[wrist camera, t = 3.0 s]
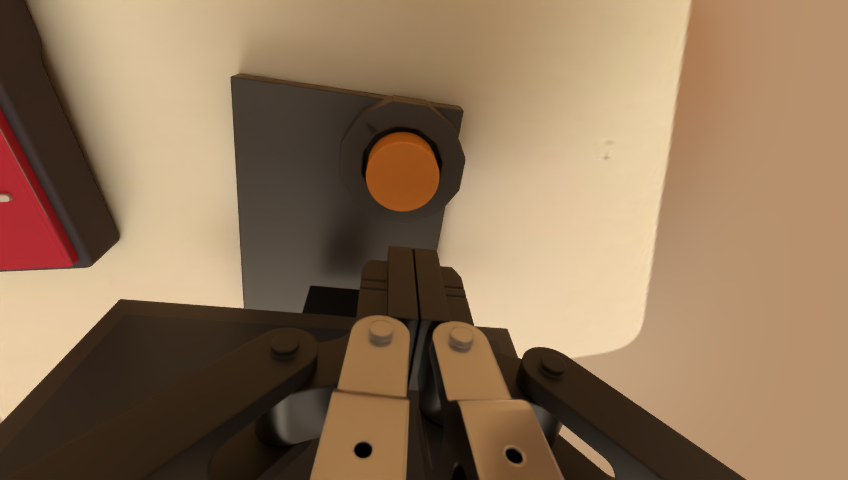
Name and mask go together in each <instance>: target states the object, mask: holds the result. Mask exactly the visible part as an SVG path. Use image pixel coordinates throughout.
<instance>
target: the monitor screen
mask: <svg viewBox="0 0 848 480" xmlns="http://www.w3.org/2000/svg"><path fill="white" fill-rule="evenodd" d="M355 322H356V317H346V316H333V315H320V314H307V313H294V312H281V311H268V310H255V309H242V308H229V307H216V306H203V305H190V304H177V303H164V302H151V301H138V300H125V299H120V300H119V301H118V302H117V303H116V304H115V305H114V306H113V307H112V308H111V309H110V310H109V311H108V312H107V313H106V314H105V316H104V317H103V318H102V319H101V320H100V321H99V322H98V323H97V324H96V325H95V326H94V327H93V328H92V329H91V330H90V331H89V332H88V333H87V334H86V335H85V336H84V337H83V338H82V339H81V340H80V342H79V343H78V344H77V345H76V346H75V347H74V348H73V349H72V350H71V351H70V352H69V353H68V354H67V355H66V356H65V357H64V358H63V359H62V360H61V361H60V362H59V363H58V364H57V365H56V366H55V368H54V369H53V370H52V371H51V372H50V373H49V374H48V375H47V376H46V377H45V378H44V379H43V380H42V381H41V382H40V383H39V384H38V385H37V386H36V387H35V388H34V389H33V390H32V391H31V392H30V394H29V395H28V396H27V397H26V398H25V399H24V400H23V401H22V402H21V403H20V404H19V405H18V406H17V407H16V408H15V409H14V410H13V411H12V412H11V413H10V414H9V415H8V416H7V417H6V419H5V420H4V421H3V422H2V423H1V424H0V480H1V479H3V478H5V477H6V476H8V475H10V474H12V473H14V472H15V471H17V470H19V469H21V468H23V467H24V466H26V465H28V464H30V463H32V462H33V461H35V460H37V459H39V458H41V457H42V456H44V455H46V454H48V453H50V452H51V451H53V450H55V449H57V448H59V447H60V446H62V445H64V444H66V443H68V442H69V441H71V440H73V439H75V438H77V437H78V436H80V435H82V434H84V433H86V432H87V431H89V430H91V429H93V428H95V427H96V426H98V425H100V424H102V423H104V422H105V421H107V420H109V419H111V418H113V417H114V416H116V415H118V414H120V413H122V412H123V411H125V410H127V409H129V408H131V407H132V406H134V405H136V404H138V403H140V402H141V401H143V400H145V399H147V398H149V397H150V396H152V395H154V394H156V393H158V392H159V391H161V390H163V389H165V388H167V387H168V386H170V385H172V384H174V383H176V382H177V381H179V380H181V379H183V378H185V377H186V376H188V375H190V374H192V373H194V372H195V371H197V370H199V369H201V368H203V367H204V366H206V365H208V364H210V363H212V362H213V361H215V360H217V359H219V358H221V357H222V356H224V355H226V354H228V353H230V352H231V351H233V350H235V349H237V348H239V347H240V346H242V345H244V344H246V343H248V342H249V341H251V340H253V339H255V338H257V337H258V336H260V335H262V334H264V333H266V332H268V331H270V330H273V329H277V328H284V327H292V328H298V329H302V330H305V331H307V332H309V333H310V334H311V335H313V336H314V338H315V339H316V341H317V343H319V342H325V341H330V340H335V339H338V338H340V337H342V336H344V335H346V334H347V333H348V332H350V331H351V330H352V327H353V326H354V324H355ZM474 327H476V328H478V329H479V330H480V331H481V332H482V333H484V335H485V336H486V337H487V339H488V342H489V344H490V346H491V348H492V349H494V350H496V351H498V352H501V353H504V354H507V355H510V356H513V357H517V358H518V356H517V353H516V351H515V348H514V345H513V343H512V340H511V337H510V335H509V332H508V329H503V328H490V327H477V326H474ZM407 397H409V425H408V448H407V470H406V480H425V474H424V467H423V461H422V454H421V447H420V441H419V434H418V427H417V421H416V412H417V407H418V402H419V392H418V391H417V390H408V381H407ZM319 441H320V438H316V439H312V442H311V444H310V445H309V447H308V448H307V449H306V450H305V451H304V452H303V453H302V454H301V455H300V456H299V457H298V458H296V459H295V460H294V461H293V462H292V463H291V464H290V465H289V466H288V467H286V468H285V469H284V470H283V471H282V472H281V473H280V474H279V475H277V476H276V477H275V478H274V479H273V480H310V476H311V472H312V468H313V465H314V461H315V457H316V453H317V449H318V445H319Z"/></svg>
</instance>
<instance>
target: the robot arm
mask: <svg viewBox="0 0 848 480" xmlns="http://www.w3.org/2000/svg"><path fill="white" fill-rule="evenodd" d="M407 381H408V390H417V391H418V392H419V402H418V407H417V412H416V421H417V427H418V434H419V441H420V447H421V454H422V461H423V467H424V474H425V480H746V479H745V478H743V477H742V476H740V475H739V474H737V473H736V472H734V471H733V470H732V469H730V468H729V467H727V466H726V465H724V464H723V463H721V462H720V461H718V460H717V459H715V458H714V457H712V456H711V455H710V454H708V453H707V452H705V451H704V450H702V449H701V448H700V447H698V446H696V445H695V444H694V443H692V442H691V441H689V440H688V439H686V438H685V437H684V436H682V435H681V434H679V433H678V432H676V431H675V430H673V429H672V428H670V427H669V426H667V425H666V424H665V423H663V422H662V421H660V420H659V419H657V418H656V417H655V416H653V415H652V414H650V413H649V412H647V411H646V410H644V409H643V408H641V407H640V406H638V405H637V404H635V403H634V402H633V401H631V400H630V399H628V398H627V397H625V396H624V395H623V394H621V393H620V392H618V391H617V390H615V389H614V388H612V387H611V386H609V385H608V384H607V383H605V382H604V381H602V380H601V379H599V378H598V377H596V376H595V375H593V374H592V373H591V372H589V371H588V370H586V369H585V368H583V367H582V366H580V365H579V364H577V363H576V362H574V361H573V360H572V359H570V358H569V357H567V356H566V355H564V354H562V353H560V352H558V351H556V350H553V349H550V348H545V347H535V348H531V349H529V350H527V351H526V352H525V353H524V355H523V358H522V359H520V358H517V357H513V356H510V355H507V354H504V353H501V352H498V351H496V350H494V349H492V348H491V346H490V344H489V342H488V339H487V337H486V336H485V335H484V333H482V332H481V331H480V330H479V329H478V328H476V327H474V323H473V320H472V316H471V312H470V309H469V305H468V301H467V298H466V294H465V290H464V287H463V283H462V279H461V277H460V276H459V275H458V274H457V272H456V271H455V270H454V269H453V268H452V267H442V266H440V263H439V258H438V253H437V250H429V249H419V248H413V250H412V248H409V247H399V246H388V252H387V259H386V261H381V260H371V259H370V260H369V261H368V262H367V263H366V264H365V265H364V266H363V267H362V273H361V282H360V290H359V299H358V307H357V315H356V322H355V324H354V326H353V327H352V330H351V331H350V332H348V333H347V334H346V335H344V336H342V337H340V338H338V339H335V340H330V341H325V342H319V343H317V341H316V339H315V338H314V336H313V335H311V334H310V333H309V332H307V331H305V330H302V329H298V328H292V327H284V328H277V329H273V330H270V331H268V332H266V333H264V334H262V335H260V336H258V337H257V338H255V339H253V340H251V341H249V342H248V343H246V344H244V345H242V346H240V347H239V348H237V349H235V350H233V351H231V352H230V353H228V354H226V355H224V356H222V357H221V358H219V359H217V360H215V361H213V362H212V363H210V364H208V365H206V366H204V367H203V368H201V369H199V370H197V371H195V372H194V373H192V374H190V375H188V376H186V377H185V378H183V379H181V380H179V381H177V382H176V383H174V384H172V385H170V386H168V387H167V388H165V389H163V390H161V391H159V392H158V393H156V394H154V395H152V396H150V397H149V398H147V399H145V400H143V401H141V402H140V403H138V404H136V405H134V406H132V407H131V408H129V409H127V410H125V411H123V412H122V413H120V414H118V415H116V416H114V417H113V418H111V419H109V420H107V421H105V422H104V423H102V424H100V425H98V426H96V427H95V428H93V429H91V430H89V431H87V432H86V433H84V434H82V435H80V436H78V437H77V438H75V439H73V440H71V441H69V442H68V443H66V444H64V445H62V446H60V447H59V448H57V449H55V450H53V451H51V452H50V453H48V454H46V455H44V456H42V457H41V458H39V459H37V460H35V461H33V462H32V463H30V464H28V465H26V466H24V467H23V468H21V469H19V470H17V471H15V472H14V473H12V474H10V475H8V476H6V477H5V478H3V479H1V480H273V479H274V478H275V477H276V476H277V475H279V474H280V473H281V472H282V471H283V470H284V469H285V468H286V467H288V466H289V465H290V464H291V463H292V462H293V461H294V460H295V459H296V458H298V457H299V456H300V455H301V454H302V453H303V452H304V451H305V450H306V449H307V448H308V447H309V445H310V444H311V442H312V439H316V438H320V441H319V445H318V449H317V453H316V457H315V461H314V465H313V468H312V472H311V476H310V480H406V470H407V448H408V425H409V397H407ZM562 425H565V426H566V427H567V428H568V429H570V430H571V431H572V432H573V433H574V434H576V435H577V436H578V437H579V438H581V439H582V440H583V441H584V442H586V443H587V444H588V445H589V446H590V447H592V448H593V449H594V450H595V451H597V452H598V453H599V454H600V455H602V456H603V457H604V458H605V459H606V460H607V461H608V462H609V463H610V465H611V466H612V468H613V470H614V473H615V478H614V477H611V476H609V475H607V474H606V473H605V472H603V471H602V470H601V469H600V468H598V467H597V466H596V465H595V464H594V463H592V462H591V461H590V460H589V459H588V458H587V457H585V456H584V455H583V454H582V453H581V452H579V451H578V450H577V449H576V448H574V447H573V446H572V445H571V444H570V443H569V442H567V441H566V440H565V439H564V438H563V437H561V436H560V435H559V432H560V429H561V427H562Z"/></svg>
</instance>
